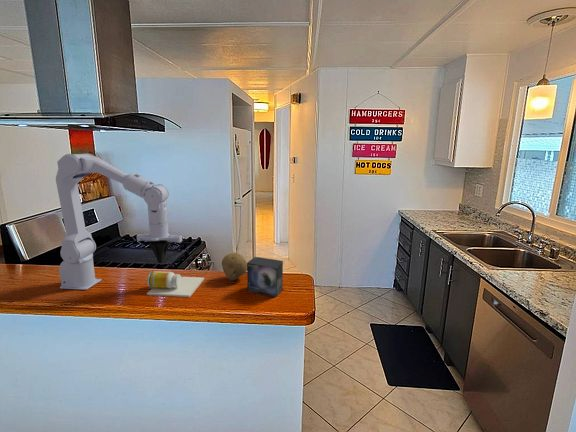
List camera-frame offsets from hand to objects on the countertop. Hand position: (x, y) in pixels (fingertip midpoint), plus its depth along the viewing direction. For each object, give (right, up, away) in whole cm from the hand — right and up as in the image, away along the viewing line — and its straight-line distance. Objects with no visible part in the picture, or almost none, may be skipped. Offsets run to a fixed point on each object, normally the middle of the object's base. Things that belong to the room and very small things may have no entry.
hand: (161, 261), depth 107 cm
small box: (+35, -10, -1) cm, 36 cm away
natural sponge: (+23, -8, +8) cm, 26 cm away
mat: (+5, -9, +1) cm, 10 cm away
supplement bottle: (-3, -6, -1) cm, 7 cm away
